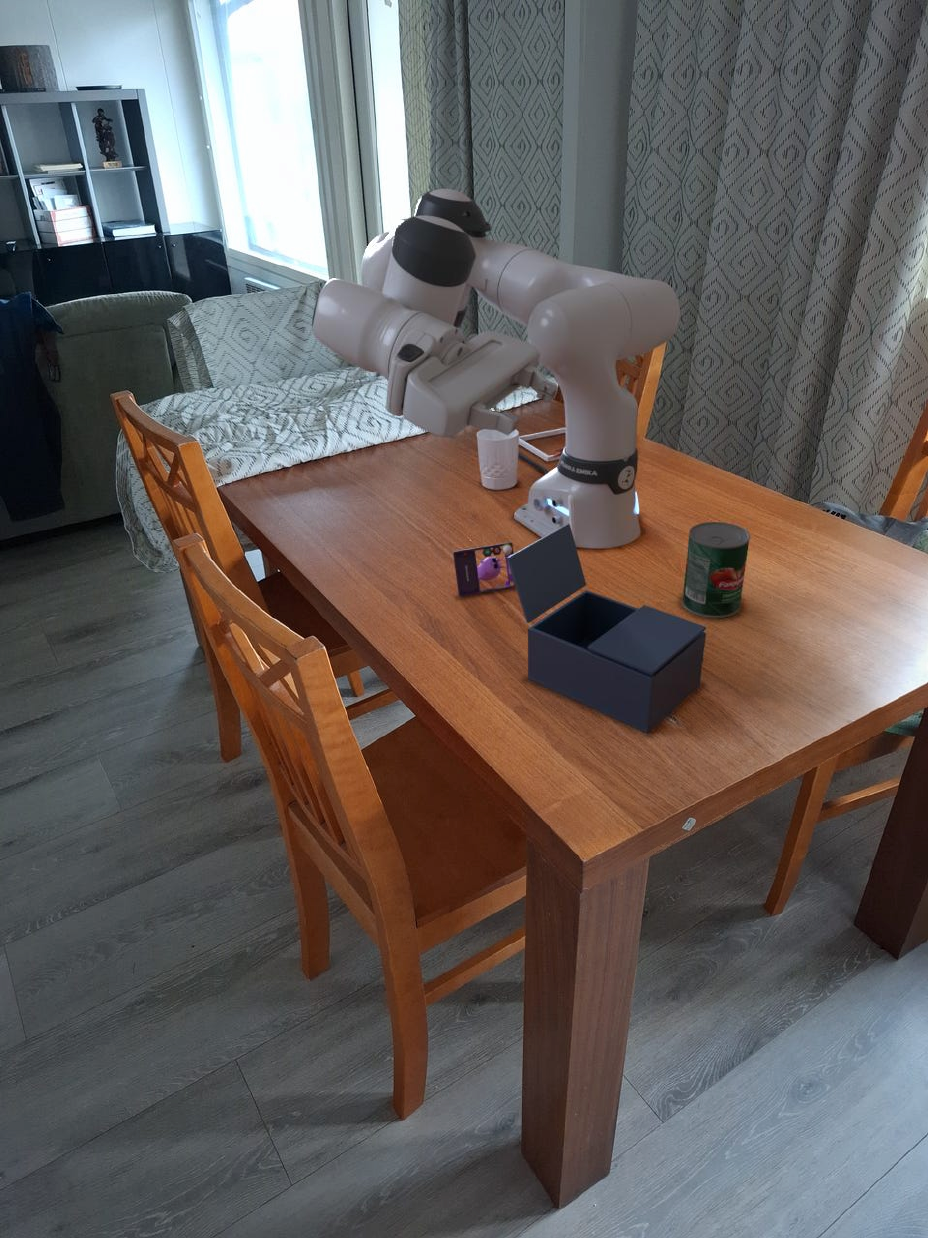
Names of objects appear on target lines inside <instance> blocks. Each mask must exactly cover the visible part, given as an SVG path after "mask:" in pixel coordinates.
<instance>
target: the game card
mask: <svg viewBox="0 0 928 1238" xmlns="http://www.w3.org/2000/svg"><path fill="white" fill-rule="evenodd" d="M476 551H482V554H483V556H484V557H485V559H483V560H480V561H479V565H478V564H477V563H478V562H477V556H476V555H477V554H476ZM501 553H502V554H503V555H504V560H505V564H506V565H505V566H504V565H501V563H500V561H502V560H503V558H497V556H499V555H501ZM492 554H493V555H494V556H492ZM513 554H515V552H514V546H513V542H512V541H511V542H502V543H498V544H497V543H496V544H491V545H484V546H480V547H473V548H467V549H459V550H454V551H452V555H453V556H452V557H453V562H454V563H453V564H454V570H455V577H456V584H457V585H456V587H457V593H458V597H460V598H462V597H468V596H473V595H480V594H486V593H490V592H497V591H502V590H507V589H514V588H515V589H516V586H515V583H514V580H513V576H512V573H511V570H510V566H509V563H508V560H507V557H509V556H511V555H513ZM501 569H506V572H507V580H506V581H505V585H504V586H497V587H492V588H487V589H481V587H480V585H481V584H480V581H485V582H486V581H492V580H494V579H496V578H497V577H498V576H499V575H500V574H502V572H501ZM511 582H513V584H511Z"/></svg>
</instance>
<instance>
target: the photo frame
mask: <svg viewBox="0 0 928 1238" xmlns="http://www.w3.org/2000/svg"><path fill="white" fill-rule="evenodd" d="M561 434H566V427H560V428H557V429H551V430H546V431H540V432H536V433H531V434H525V435H519V446H521V447H523V448H524V449H525V450H528V452H531V453H533V455H536V456H537V457H539V458H541V460H544V461H545V462H553V461H557V460H558V461H559V459H560V457H561V455H560V456H557V457H553V456H554V455H555V454H552V455H548V454H547V453H545V452H544V451H542V450H540V449H538V448H537V447H535V446H534V445H531V444H530V443H528V442H526V441H530V440H535V439H540V438H546V437H551V436H556V435H561Z"/></svg>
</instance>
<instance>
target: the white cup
mask: <svg viewBox="0 0 928 1238" xmlns="http://www.w3.org/2000/svg"><path fill="white" fill-rule="evenodd" d="M519 436H520V432H519V430H517V428H516V429H515V430H514V431H513V432H512V433H511V434H509V435H505V434H503V433H501V432H499V431H497V430H489V429H480V430H478V431H477V432H476V439H477V453H478V464H479V472H480V480H481V486H482V487H484V488H486V489H488V490H495V491H502V490H507V489H511V488H513V487H515V486H516V485H517V483H518V466H519V456H518V451H519V446H520V445H519Z"/></svg>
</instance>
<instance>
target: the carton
mask: <svg viewBox="0 0 928 1238" xmlns="http://www.w3.org/2000/svg"><path fill="white" fill-rule="evenodd" d="M706 630H707V626H705V625H702V624H699V623H696V622H694V621H692V620H688V619H686V618H683V617H680V616H676V615H674V614H671V613H668V612H665V611H663V610H659V609H657V608H655V607H651V606H648V605H646V604H643V605H642V606H640V607H639V608H638V607H635V606H633V605H629V604H627V603H625V602H624V603H623V602H622V601H618V600H615V599H613V598H610V597H607V596H604V595H602V594H598V593H595V592H593V591H590V590H587V589H585V590H583V591H582V592H580V593H578V594H577V595H576V596H574V597H572V598H571V599H570V600H568V601H567V602H565V603H564V604H562V605H561V606H559V607H557V608H556V609H554V610H553V611H552V612H550V613H548V614H547V615H545V616H544V617H542V618H541V619H540V620H538V621H537V622H535V623H534V624H532V625H531V626H529V627H527V680H528V681H531V682H533V683H534V684H537V685H539V686H541V687H544V688H546V689H548V690H550V691H553V692H555V693H557V694H559V695H560V696H563V697H566V698H568V699H570V700H572V701H575V702H577V703H579V704H581V705H582V706H586V707H587V708H589V709H592V710H594V711H596V712H598V713H601V714H603V715H605V716H608V717H610V718H611V719H614V720H616V721H618V722H620V723H623V724H624V725H626V726H629V727H631V728H634V729H636V730H637V731H640V732H642V733H645V734H649V733H650V732H651V731H652V730H653V729H654V728H655V727H656V726H657V725H658V724H660V723H661V722H662V721H663V720H664V719H665V718H666V717H668V715H669V714H670V713H671V712H673V711H674V710H675V709H676V708H677V707H678V706H679V705H680V704H682V702H684V701H685V700H686V699H687V698H688V697H689V696H690V695H691V694H692V693H693V692H694V691H695V690H697V688H699V687H700V685H701V678H702V671H703V663H704V655H705V648H706V647H705V646H706V638H707V632H706Z"/></svg>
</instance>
